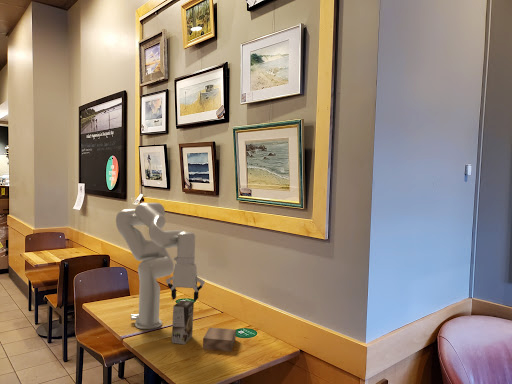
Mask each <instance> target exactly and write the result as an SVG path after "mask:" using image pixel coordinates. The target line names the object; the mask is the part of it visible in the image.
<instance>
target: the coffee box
mask: <svg viewBox="0 0 512 384" xmlns="http://www.w3.org/2000/svg"><path fill="white" fill-rule="evenodd" d="M194 302H195V301H194V300H193V301H191V300H182V299H181V300H180V301H178V302H177V303H176V304H174V305H173V307H172V308H173V312H172V325H171V326H172V327H171V328H172V330H171V343H172V344H178V345H186V344H187V343H188V342H189V341H188V340H191V339H192V337H193V328H194V305H195V303H194Z"/></svg>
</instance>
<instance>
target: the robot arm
mask: <svg viewBox="0 0 512 384" xmlns="http://www.w3.org/2000/svg"><path fill="white" fill-rule="evenodd" d="M165 213H166V211H165V207H164V205H163V204H162V203H159V202H141V203H139V204H138V205H136V206H135V208H126V209H122V210H119V212H118V213H117V214H116V217H115V223H116V224H115V225H116V228H117V230H118V232H119V234H120V235H121V237H122V238H123V239H124V240H125V242H126V245H127V246H128V248H129V250H130V253H131V254H132V256H133V258H134V259H135V260H136V261H139V262H140V263H139V264H138V266H137V274H138V280H139V292H138V293H139V294H138V295H139V296H138V313H137V314H135V313H131V314H130V320H133V321H134V320H135V321H134V326H135V328H137V329H141V330H151V329H152V330H154V329H157V328H159V327H161V326H162V325H163V321H162V320H161V319H160V301H161V299H160V298H161V287H160V283H159V282H158V281H157V279H160V278H164V277H168V276H170V275H172V276H170V277H168V278H167V279H165V282H166V284H167V287H168V288H169V289H170V291H171V292H170V293H171V294H170V296H171V300H172V301H173V300H175V299H176V298H177V288H184V289H185V288H186V289H193V291H194V292H193V302H197V300H198V299H199V291H200V290H201V289H202V288H203V287H204V285H205V280H204V279H201V278H200V277H198V270H197V264H196V262H195V260H196V258H195V257H196V256H195V255H196V254H195V253H196V252H195V251H196V235H195V233H194V232H193V231H192V232H190V231H185V230H183V229H174V230H173V229H171V230H163V227H164V226H165V225H166V218H165ZM135 226H146V227H148V235H149V238H150V240H147V239H146V238H145V237H144V234H143V233H142V232H141V231H140V230H139V229H138V228H136V227H135ZM171 248H177V250H176V251H177V252H176V253H177V255H176V256H175V257H174V258H173V260H174V261H176V262H175V263H174V262H173V260H172V257H171V256H170V254H169V252H168V250H167V249H171ZM171 281H172V283H171ZM198 283H199V286H198Z"/></svg>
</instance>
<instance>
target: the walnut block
mask: <svg viewBox="0 0 512 384" xmlns="http://www.w3.org/2000/svg"><path fill="white" fill-rule="evenodd" d="M236 335H237V329H235V328H233V329H232V328H223V327H222V328H221V327H220V328H219V327H209V328H208V329H207V331H206V332H205V335H204V336H203V338H202V350H207V349H209V350H208V351H218V350H220V351H219V352H232V351H233V348H234V345H235V343H234V342H236V337H237V336H236Z"/></svg>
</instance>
